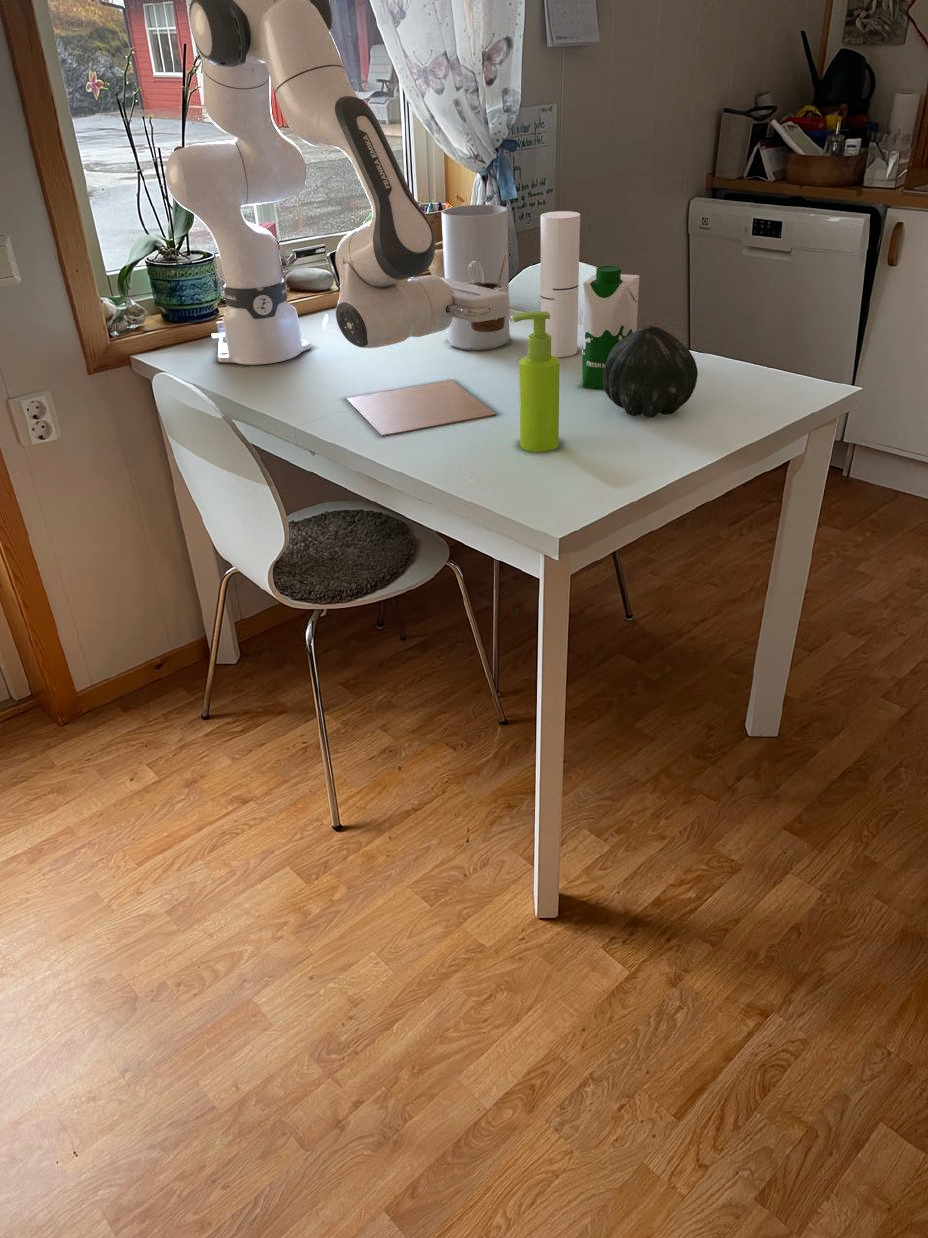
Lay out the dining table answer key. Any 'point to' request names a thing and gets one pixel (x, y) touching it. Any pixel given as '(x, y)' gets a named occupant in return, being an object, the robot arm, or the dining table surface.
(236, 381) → the dining table surface
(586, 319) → the milk carton
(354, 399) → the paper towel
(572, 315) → the cylindrical container
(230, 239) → the robot arm
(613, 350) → the squash
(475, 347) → the cylinder vase
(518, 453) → the dining table surface
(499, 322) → the utensil holder
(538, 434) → the soap dispenser
